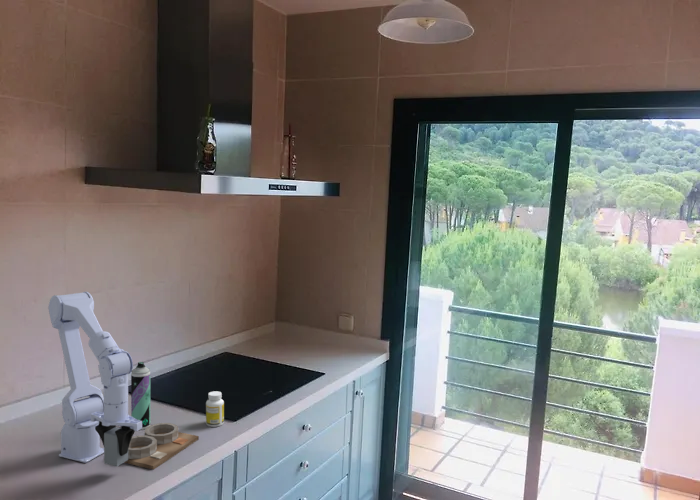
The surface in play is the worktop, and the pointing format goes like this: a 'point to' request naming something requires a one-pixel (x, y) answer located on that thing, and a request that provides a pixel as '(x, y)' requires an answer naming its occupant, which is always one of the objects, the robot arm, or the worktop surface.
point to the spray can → (140, 394)
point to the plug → (112, 449)
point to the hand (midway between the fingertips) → (116, 452)
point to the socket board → (158, 445)
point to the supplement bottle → (214, 409)
